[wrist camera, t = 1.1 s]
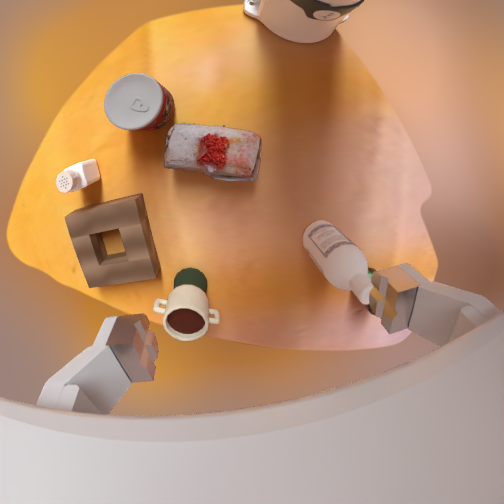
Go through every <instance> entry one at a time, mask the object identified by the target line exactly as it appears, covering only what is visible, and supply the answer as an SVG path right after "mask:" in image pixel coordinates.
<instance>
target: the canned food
mask: <svg viewBox="0 0 504 504" xmlns="http://www.w3.org/2000/svg"><path fill="white" fill-rule="evenodd" d="M104 108H105V113H106V116H107V117H108V119H109V121H110V122H111V123H112V124H113V125H115V126H117V127H119V128H121V129H124V130H154V129H158V128H160V127H162V126H163V125H165V124H166V123H167V122H168V121H169V120H170V118H171V117H172V114H173V112H174V100H173V97H172V95H171V94H170V92H169V91H168V90H167V89H165V88H164V87H163V86H162V85H161V84H160V83H159V82H157V81H156V80H155V79H154V78H152V77H150V76H148V75H145V74H141V73H132V74H128V75H125V76H123V77H121V78H119V79H118V80H117V81H115V82H114V83H113V84H112V85H111V87H110V88H109V90H108V92H107V94H106V97H105V101H104Z"/></svg>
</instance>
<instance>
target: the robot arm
mask: <svg viewBox="0 0 504 504" xmlns="http://www.w3.org/2000/svg"><path fill="white" fill-rule="evenodd" d="M363 1H364V0H244V7H243V11H244V13H245V14H247V15H248V16H251V17H253V18H255V19H258V20H259V21H261V22H262V23H263V24H264V25H265V26H266V27H267V28H268V29H269V30H271V31H272V32H273V33H275V34H276V35H278V36H280V37H282V38H284V39H287V40H290V41H294V42H299V43H314V42H319V41H321V40H324V39H326V38H327V37H329V36H330V35H331V34H332V33H333V31H334V30H335V28H336V27H337V25H338V24H340V23H342V22H344V21H345V20H347V19H348V17H349V13H350V12H351V11H352V10H354V9H355V8H356V7H358V6H359V5H360V4H361V3H362V2H363ZM250 3H253V4H254V5H250ZM371 283H372V285H373V288H372V289H371V291H370V292H369V304H370V308H371V310H372V312H373V313H374V315H375V316H377V317H380V318H382V319H381V324H382V325H383V326H384V328H385V329H386V330H387V332H388V333H389V334H391V333H394V332H398V331H401V330H404V329H406V328H408V329H409V330H411V331H413V332H414V333H416V334H418V335H420V336H422V337H424V338H426V339H427V340H429V341H431V342H433V343H435V344H437V345H439V346H440V347H439V348H437V349H435V350H433V351H431V352H429V353H426V354H424V355H422V356H420V357H418V358H415V359H413V360H411V361H409V362H406V363H404V364H401V365H399V366H397V367H394V368H391V369H389V370H386V371H384V372H381V373H378V374H376V375H373V376H370V377H367V378H364V379H361V380H358V381H355V382H352V383H349V384H346V385H343V386H339V387H336V388H333V389H329V390H325V391H322V392H318V393H314V394H311V395H307V396H302V397H298V398H294V399H290V400H285V401H280V402H275V403H271V404H265V405H259V406H253V407H247V408H241V409H234V410H226V411H218V412H209V413H198V414H183V415H160V416H130V415H129V416H128V415H108V414H109V413H110V411H111V410H112V409H113V407H114V406H115V405H116V403H117V402H118V401H119V400H120V398H121V397H122V396H123V395H124V393H125V392H126V391H127V389H128V388H129V387H130V386H131V384H132V382H147V381H154V375H155V369H156V366H155V364H154V361H155V360H156V359H157V358H158V352H159V351H158V343H157V338H156V336H155V334H154V332H152V331H151V330H150V329H148V328H149V324H150V322H149V320H148V318H147V316H146V315H145V314H144V313H143V314H134V315H124V316H114V317H107V318H105V320H104V323H103V324H102V326H101V329H100V331H99V333H98V335H97V337H96V340H95V342H94V344H93V346H91V347H88V348H87V349H85V350H84V351H83V352H82V353H80V354H79V355H78V356H77V357H75V358H74V359H73V360H72V361H71V362H69V363H68V364H67V365H66V366H64V367H63V368H62V369H61V370H60V371H58V372H57V373H56V374H55V375H54V376H52V377H51V378H50V379H49V380H47V381H46V383H45V385H44V388H43V390H42V392H41V394H40V397H39V399H38V402H37V404H36V405H31V404H26V403H22V402H18V401H13V400H10V399H6V398H2V397H0V504H504V310H503V311H500V310H499V309H497V308H496V307H495V306H494V305H493V304H492V303H491V302H489V301H488V300H487V299H486V298H485V297H484V296H480V295H477V294H474V293H471V292H467V291H464V290H460V289H458V288H454V287H451V286H447V285H444V284H440V283H437V282H430V281H429V280H428V279H427V278H426V277H424V276H423V275H422V274H421V273H420V272H418V271H417V270H416V269H415V268H413V267H412V266H411V265H410V264H408V263H404V264H400V265H397V266H394V267H391V268H387V269H383V270H379V271H375V272H373V274H372V276H371Z"/></svg>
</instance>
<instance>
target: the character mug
mask: <svg viewBox="0 0 504 504" xmlns="http://www.w3.org/2000/svg"><path fill="white" fill-rule="evenodd" d="M206 289H207V280H206V278H205V276H204V274H203V273H202V272H200V271H199V270H198V269H194V268H187V269H183V270H181V271H180V272H179V273H177V275H176V277H175V279H174V290H173V291H172V292H171V293H170V294H169V297H168V299H167V300H165V299H161V298H157V299H156V300H155V303H154V306H153V311H154V312H156V313H160V314H164V316H163V325H164V328H165V330H166V331H167V333H168V334H170V335H171V336H172V337H173V338H175V339H177V340H180V341H186V342H187V341H194V340H197V339H200V338H201V337H202V336H204V335H205V333H206V332H207V330H208V327H209V323H210V324H219V323H220V313H219V311H218V310H215V309H210V308H209V301H208V299H207V297H206V294H205V293H206ZM160 305H165V306H166V307H165V308H161V307H160ZM209 314H210V315H214V318H211V317H209Z"/></svg>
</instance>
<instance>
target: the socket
mask: <svg viewBox="0 0 504 504" xmlns="http://www.w3.org/2000/svg"><path fill="white" fill-rule="evenodd" d="M65 220H66V224H67V227H68V230H69V234H70V237H71V240H72V243H73V246H74V249H75V252H76V254H77V257H78V260H79V263H80V265H81V268H82V271H83V273H84V276H85V278H86V281H87V283H88V286H89V288H92V287H100V286H107V285H114V284H122V283H129V282H136V281H143V280H150V279H156V278H157V275H158V272H159V269H160V263H159V259H158V256H157V252H156V248H155V244H154V241H153V237H152V233H151V229H150V225H149V221H148V216H147V212H146V208H145V203H144V199H143V194H142V193H141V194H137V195H132V196H128V197H123V198H119V199H115V200H111V201H107V202H103V203H99V204H95V205H91V206H87V207H83V208H80V209H76V210H74V211H73V212H72V213H70V214H69V215H67V216H66V217H65ZM118 228H119V231H120V234H121V238H122V241H123V245H124V248H125V251H126V252H122V253H117V254H111V255H107V252H106V249H105V246H104V242H103V239H102V236H101V233H100V232H104V231H108V230H113V229H118Z"/></svg>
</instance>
